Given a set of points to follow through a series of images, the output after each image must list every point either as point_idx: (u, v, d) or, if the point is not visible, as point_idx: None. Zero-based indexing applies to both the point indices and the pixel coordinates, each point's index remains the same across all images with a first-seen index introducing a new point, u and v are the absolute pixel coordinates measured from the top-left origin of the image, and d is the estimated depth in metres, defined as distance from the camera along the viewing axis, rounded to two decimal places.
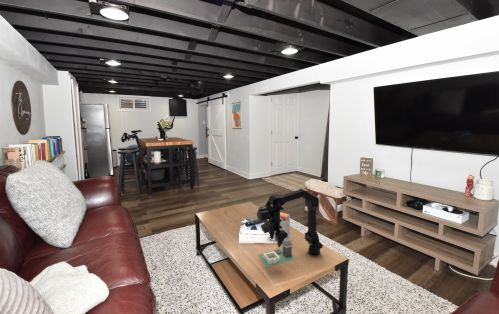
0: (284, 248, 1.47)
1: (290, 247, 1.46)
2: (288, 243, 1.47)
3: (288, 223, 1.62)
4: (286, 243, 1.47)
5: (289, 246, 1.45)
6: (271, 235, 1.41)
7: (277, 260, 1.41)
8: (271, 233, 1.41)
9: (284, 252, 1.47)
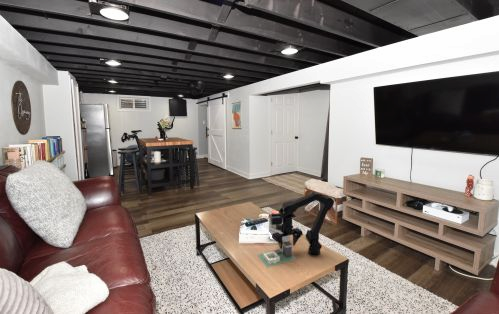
0: (284, 248, 1.47)
1: (290, 247, 1.46)
2: (288, 243, 1.47)
3: None
4: (286, 243, 1.47)
5: (289, 246, 1.45)
6: (293, 241, 1.49)
7: (277, 260, 1.41)
8: (293, 240, 1.49)
9: (284, 252, 1.47)
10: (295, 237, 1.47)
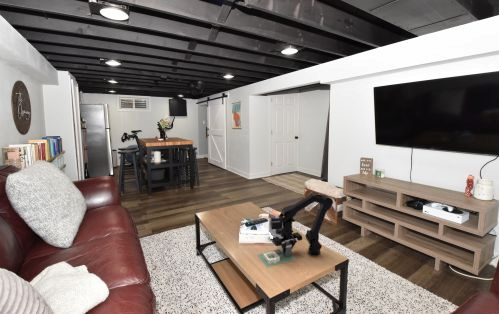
0: None
1: (290, 247, 1.46)
2: (288, 243, 1.47)
3: None
4: (286, 243, 1.47)
5: (289, 246, 1.45)
6: None
7: (277, 260, 1.41)
8: None
9: None
10: (291, 242, 1.47)
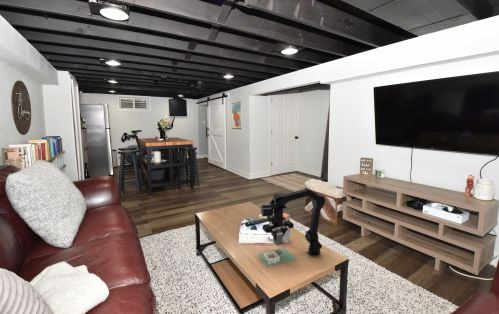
0: None
1: (281, 235, 1.42)
2: (279, 231, 1.43)
3: None
4: (277, 231, 1.43)
5: (280, 234, 1.42)
6: None
7: (277, 260, 1.41)
8: None
9: (275, 240, 1.43)
10: (282, 230, 1.43)
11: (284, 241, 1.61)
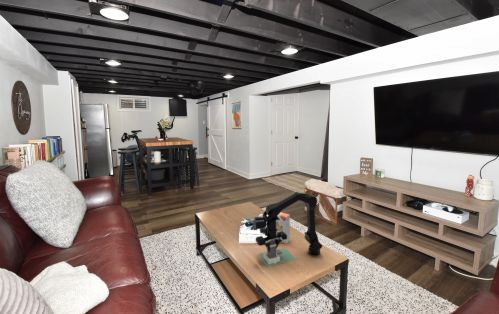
0: None
1: (274, 246, 1.41)
2: (272, 242, 1.42)
3: (288, 223, 1.62)
4: (270, 242, 1.42)
5: (273, 245, 1.41)
6: None
7: (277, 260, 1.41)
8: None
9: (268, 252, 1.42)
10: (276, 242, 1.42)
11: (284, 241, 1.61)
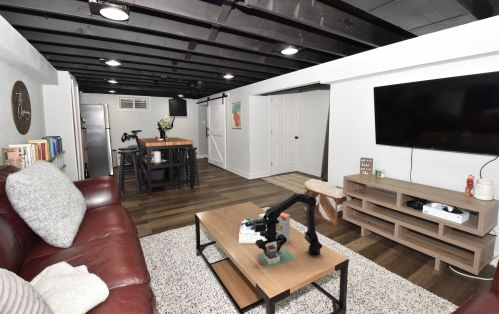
0: (268, 252, 1.42)
1: (274, 251, 1.42)
2: (272, 247, 1.43)
3: (288, 223, 1.62)
4: (270, 247, 1.43)
5: (273, 250, 1.41)
6: (277, 248, 1.45)
7: (277, 260, 1.41)
8: (277, 247, 1.45)
9: (268, 256, 1.43)
10: (278, 244, 1.43)
11: None
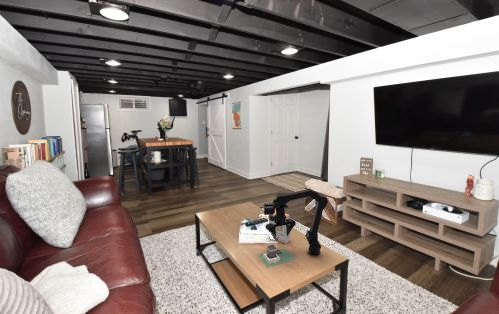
0: (268, 252, 1.42)
1: (274, 251, 1.42)
2: (272, 247, 1.43)
3: None
4: (270, 247, 1.43)
5: (273, 250, 1.41)
6: (287, 232, 1.50)
7: (277, 260, 1.41)
8: (287, 230, 1.50)
9: (268, 256, 1.43)
10: (288, 227, 1.48)
11: (284, 241, 1.61)
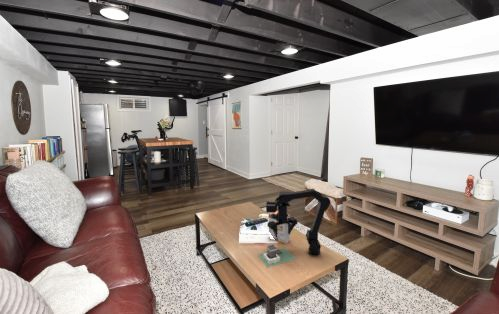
0: (268, 252, 1.42)
1: (274, 251, 1.42)
2: (272, 247, 1.43)
3: None
4: (270, 247, 1.43)
5: (273, 250, 1.41)
6: (288, 230, 1.51)
7: (277, 260, 1.41)
8: (288, 229, 1.51)
9: (268, 256, 1.43)
10: (290, 226, 1.49)
11: (284, 241, 1.61)
